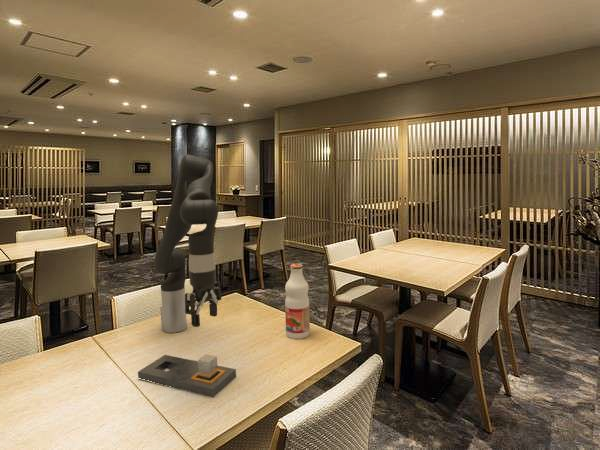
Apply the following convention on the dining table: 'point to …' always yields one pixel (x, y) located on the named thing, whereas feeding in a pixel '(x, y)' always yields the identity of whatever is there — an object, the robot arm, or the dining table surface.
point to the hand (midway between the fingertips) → (205, 321)
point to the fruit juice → (297, 304)
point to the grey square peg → (207, 367)
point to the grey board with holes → (186, 375)
